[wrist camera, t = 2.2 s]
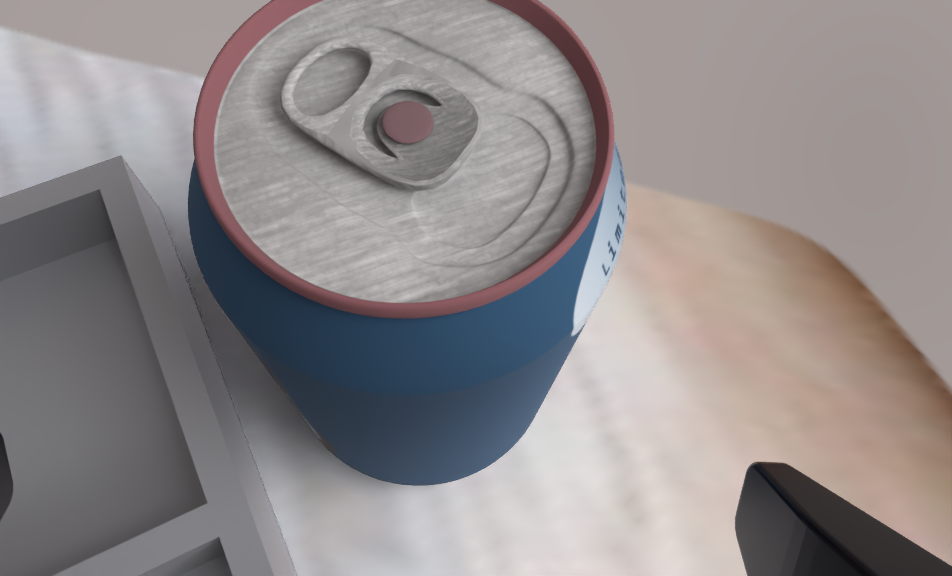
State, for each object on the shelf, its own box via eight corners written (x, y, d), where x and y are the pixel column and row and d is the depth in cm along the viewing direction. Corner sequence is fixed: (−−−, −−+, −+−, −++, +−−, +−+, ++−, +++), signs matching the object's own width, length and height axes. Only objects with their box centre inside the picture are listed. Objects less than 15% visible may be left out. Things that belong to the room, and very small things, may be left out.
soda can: (584, 337, 21) (741, 64, 10) (456, 544, 19) (485, 474, 8) (393, 222, 23) (354, -133, 12) (250, 402, 20) (25, 169, 9)
